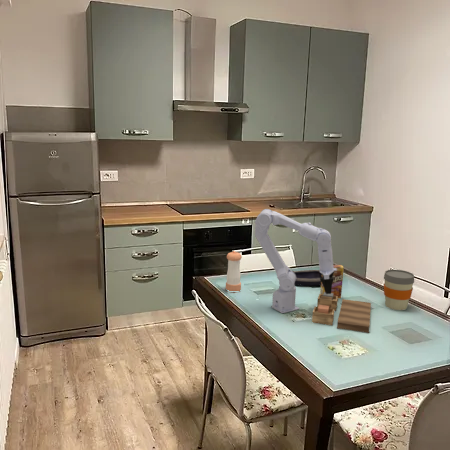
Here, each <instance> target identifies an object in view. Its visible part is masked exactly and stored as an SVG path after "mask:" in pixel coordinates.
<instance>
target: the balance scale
mask: <svg viewBox="0 0 450 450" xmlns="http://www.w3.org/2000/svg"><path fill="white" fill-rule="evenodd" d="M338 299H339V298H338V296H333V300H332V297H327V296H323V294H320V293H319V294H318V296H317V303H316V306H314V307H313V310H312V315H311V316H312V317H311V323H312V322H313V323H314V324H319V325H325V324H326V325H327V326H333V323H334V319H335V312H336V311H337V309H338V301H339V300H338ZM319 305H326V306H329V314H326V313H319V312H318V307H319Z"/></svg>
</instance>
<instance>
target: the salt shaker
mask: <svg viewBox="0 0 450 450" xmlns="http://www.w3.org/2000/svg"><path fill="white" fill-rule="evenodd" d="M226 259H227V261H228V262H227V273H226V282H225V290H226V289H227V290H229V291H239V292H241V291H242V282H241V270H240V268H241V267H240V265H241V264H240V263H241V259H242V254H241V253H240V252H238V251H236V250H233V251H231V252H228V253H227V255H226ZM240 290H241V291H240Z"/></svg>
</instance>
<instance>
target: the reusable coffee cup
mask: <svg viewBox="0 0 450 450" xmlns="http://www.w3.org/2000/svg"><path fill="white" fill-rule="evenodd" d="M383 280H384V283H383V295H384V299H385V301H384V302H385V303H384V306H385V307H387V308H388V309H390V310H394V311H405V310H406V309H408V305H409V302H410V299H411V297H412V293H413V290H414V289H413V288H414V287H413V284H414V283H415V274H414V273H412V272H411V271H407V270H402V269H387V270H385V271H384V276H383Z"/></svg>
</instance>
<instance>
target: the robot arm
mask: <svg viewBox="0 0 450 450" xmlns="http://www.w3.org/2000/svg"><path fill="white" fill-rule="evenodd" d="M271 225H272V226H278V225H282V226H284V227H287V228H290V229H293V230H295V231H298V234H299V235H300V236H302V237H304V238H305V239H308V240H310V241H312V242H316V244H317V255H318V266H319V269H318V270H319V272H320V273H321V274H322V276H323V277H320V281H321V282H322V284H323V286H324V290H325V293H326V294H331V291H332V283H333V280H334V277H333V274H334V271H337V268H334V267H333V265H334V258H333V257H334V256H333V247H332V236H331V232H330V231H328V230H327V229H325V228H322V227H317V226H315V225H313V224H312V223H311V222H310V221H309V222H302V223H300V222H298V221H296V220H295V219H293V218H290V217H288V216H286V215H285V214H282V213H280V212H277V211H275V210H271V209H269V208H265V209H262V210H261V211H260V213H259V214H258V215H257V217H256V219H255V221H254V226H255V227H254V229H255V230H254V237H255V238H256V239H257V242H258V243H259V245H260V247H261V249H262V251H263V252H264V253H265V255H266V257H267V260H268V261H269V262H270V264H271V267H273V269H274V270H275V274H276V278H277V280H278V283H279V284H278V285H279V286H278V289H276V290H274V291H273V293H272V302H271V303H272V305H271V307H270V308H272V309H273V310H275V311H277V312H280V313H281V314H285V313H289V312H292V311H297V310H300V307H298V306H296V297H297V296H296V295H297V287H296V285H295V284H294V283H295V281H296V275H295V273H294V272H292V271H293V270H291V268H290V267H289V266H288V265H287V264H286V263H285V261H284V260H283V258H282V256H281V254H280V253H279V251H278V249H277V248H276V246H275V244H274V242H273V240H272V239H271V238H270V236H269V234H268V233H269V230H270V226H271Z"/></svg>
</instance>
